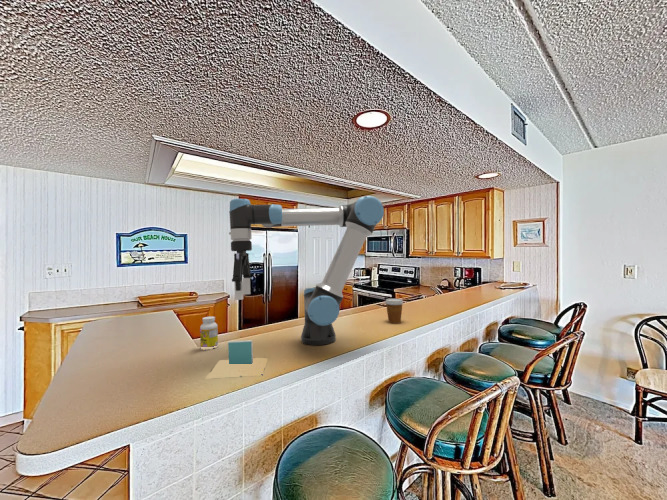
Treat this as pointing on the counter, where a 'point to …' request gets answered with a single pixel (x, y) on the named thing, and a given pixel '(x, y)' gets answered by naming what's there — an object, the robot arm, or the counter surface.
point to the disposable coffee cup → (394, 310)
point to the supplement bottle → (209, 332)
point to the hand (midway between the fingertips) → (243, 296)
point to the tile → (240, 352)
